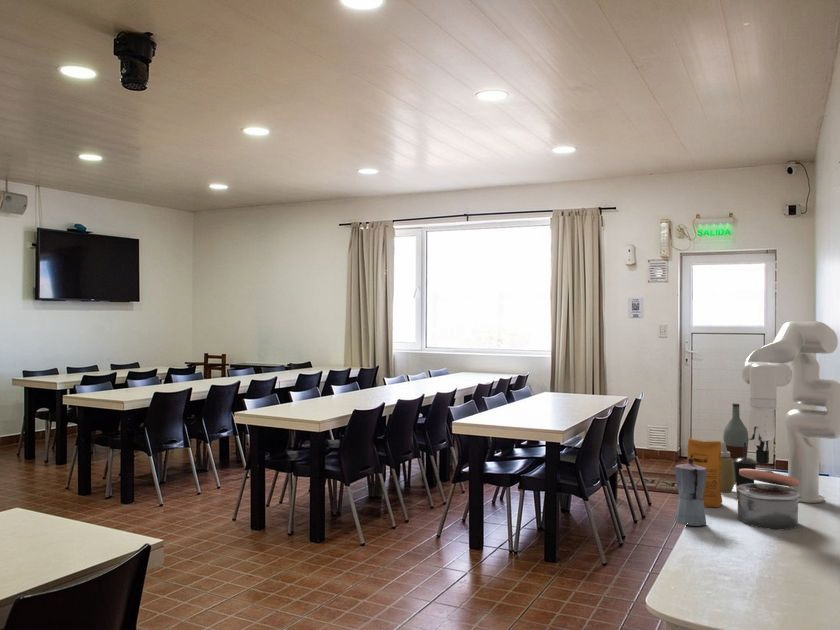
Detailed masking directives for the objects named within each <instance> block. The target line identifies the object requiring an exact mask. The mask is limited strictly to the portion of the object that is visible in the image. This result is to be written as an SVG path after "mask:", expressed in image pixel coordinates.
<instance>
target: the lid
mask: <svg viewBox="0 0 840 630" xmlns="http://www.w3.org/2000/svg"><path fill="white" fill-rule="evenodd" d="M739 475H741V476H743V477H746V478H749V479H753V480H754V481H757V482H760V483H761V482H762V483H764V484H773V485H779V486H784V487H788V486H792V487H796V486H799V481H798V480H796V479H794V478H791V477H788V475H784V474H780V473H777V472H776V473H775V472H774V471H773V470H772V471H771V470H760V469H740V470H739Z"/></svg>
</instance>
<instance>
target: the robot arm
mask: <svg viewBox="0 0 840 630" xmlns="http://www.w3.org/2000/svg"><path fill="white" fill-rule="evenodd" d="M837 335H838V334H837V333H836V332H835V330H834V328H832V327H830V326H829V325H827V324H826V323H824V322H822V321H818V320H816V321H815V320H813V321H812V320H791V321H787V322H785V323H783V324H782V326H781V327H780V328H779V330H778V332H777V334H776V336H775V338H774V339H773V341H772V342H771V343H768V344H766V345H763V346H762V347H759V348H757V349H755V350H754V351H752V352H751V353H750V354H749V356H748V357H747V358H746V360H745V361H744V363H743V366H742V370H741V377H742V380H743V381H744V382H745V383H746V384H748V385H749V408H750V410H749V417H748V427H747V431H748V439H749V441H754V443H753V445H754V446H755V451H756V453H755V461H756V462H757V464H762V465H768V464H769V463H770V443H771V442H772V440H773V439H775V436H776V435H775V434H776V419H775V410H777V387H778V388H779V387H786V386H787V385H789V384H790V382H791V399H792V401H793V402H794V403H795V404H798V405H802V406H810V407H820V408H821V407H823V408H825V409H826V410H820V409H819V410H818V409H807V408H794V409H790V410H789V411H787V413H786V414H785V421H784V422H785V428H786V434H787V445H788V446H787V449H788V451H787V452H788V453H787V455H788V456H787V461H788V462H787V463H788V464H787V465H788V467H787V469H788V470H787V471H788V472H787V473H788V474H787V476H788V477H791V478H794V479H796V480H798V481H799V486H796V487H792V486H787V487H788V488H791V489H794V490H796V491H798V492H799V498H798V503H810V504H815V503H816V504H817V503H822V502H824V501H825V499H824V498H825V497H824V496H823V495H821V494H819V493H820V492H819V489H820V488H819V487H820V482H819V480H820V479H819V478H820V476H819V475H820V474H819V473H820V471H819V470H820V468H819V463H820V462H819V461H820V459H819V458H820V452H819V448H818V446H817V444H816V443H815V441H814V439H813V438H817V439H818V438H819V439H826V440H836V439H837V440H838V439H839V438H840V382H839V381H836V380H833V379H825V378H823V379H821V378H820V364H819V361H818V360H817V359H816V357H815V356H814V355H813V354H821V355H822V354H824V355H825V354H826V355H827V354H828V355H829V354H832V353H834V352H835V351H836V350H837V348H838V343H839V339H838V336H837ZM790 362H791V367H792V368H791V367H790V366H789V365H788V363H790Z"/></svg>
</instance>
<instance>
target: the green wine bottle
mask: <svg viewBox="0 0 840 630" xmlns="http://www.w3.org/2000/svg"><path fill="white" fill-rule="evenodd" d="M731 405H732V413H731V415H732V416H731V419H730V420H729V421H728V423H727V424H726V425H725V427H724V429H723V437H722V439H723V441H722V442H725V444H726V448H727V451H728V452H730V458H731V459H736V458H739V457H744V442H745V443H746V457H748V449H749V448H748V447H749V441H750V440H749V439H748V427H746V425H745V424H744V423H743V421H742V419H741V418H740V406H741V405H740V404H739V403H731ZM733 466H734V462H733ZM734 475H735V468H734ZM735 483H736V479H735Z"/></svg>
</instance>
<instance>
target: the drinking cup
mask: <svg viewBox="0 0 840 630" xmlns="http://www.w3.org/2000/svg"><path fill="white" fill-rule="evenodd" d="M733 462H734V468H735V479H736V482H735V489H736V498H737V500H738V492H737V486H739V485H741V484H748V483H755V480H753V479H749V478H746V477H743V476H741V475H739V470H740V469H755V470H757V469H756V468H757V464H758V463H757V462H756V459H753V458H750V457H748V456H747V457H746V443H745V442H744V457H739V458H736V459H733Z"/></svg>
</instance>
